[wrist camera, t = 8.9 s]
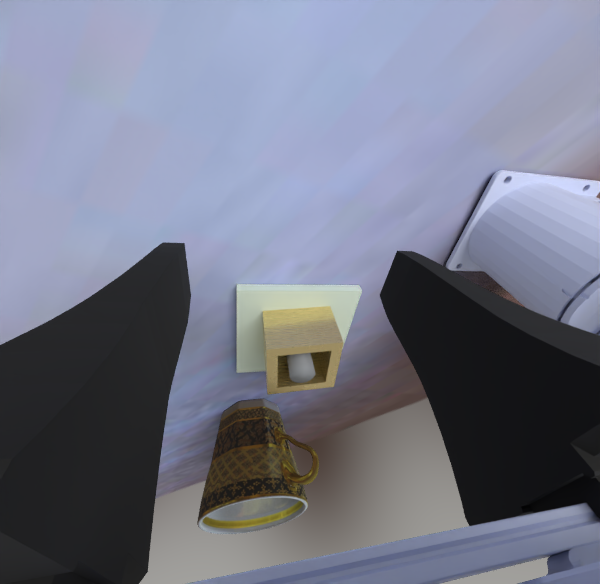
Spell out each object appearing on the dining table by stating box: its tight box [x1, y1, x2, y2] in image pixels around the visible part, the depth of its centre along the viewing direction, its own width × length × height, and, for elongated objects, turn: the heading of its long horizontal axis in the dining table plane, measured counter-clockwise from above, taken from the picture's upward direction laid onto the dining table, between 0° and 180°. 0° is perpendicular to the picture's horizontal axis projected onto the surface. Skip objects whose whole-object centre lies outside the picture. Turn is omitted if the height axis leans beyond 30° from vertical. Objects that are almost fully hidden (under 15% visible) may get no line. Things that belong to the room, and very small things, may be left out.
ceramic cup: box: [198, 399, 319, 534], centre depth 30 cm, size 13×10×10 cm
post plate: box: [237, 284, 362, 383], centre depth 24 cm, size 10×10×5 cm
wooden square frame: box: [263, 306, 344, 394], centre depth 24 cm, size 6×6×4 cm
